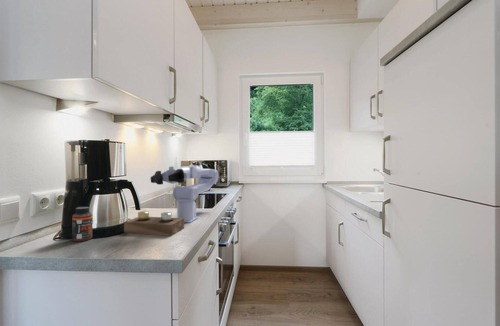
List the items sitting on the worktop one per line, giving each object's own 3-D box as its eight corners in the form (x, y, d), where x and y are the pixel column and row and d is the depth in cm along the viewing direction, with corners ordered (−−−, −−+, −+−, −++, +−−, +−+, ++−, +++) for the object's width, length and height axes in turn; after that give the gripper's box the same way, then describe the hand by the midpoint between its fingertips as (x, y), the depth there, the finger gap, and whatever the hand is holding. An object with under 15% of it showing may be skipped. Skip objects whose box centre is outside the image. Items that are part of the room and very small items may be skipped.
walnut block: (140, 225, 110) (139, 216, 109) (184, 228, 106) (183, 218, 106) (124, 232, 100) (124, 222, 100) (172, 235, 96) (172, 224, 96)
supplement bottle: (82, 242, 88) (82, 209, 88) (68, 241, 89) (67, 208, 89) (96, 237, 94) (96, 206, 94) (82, 236, 95) (82, 205, 95)
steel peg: (164, 220, 104) (164, 212, 104) (173, 221, 103) (173, 212, 103) (159, 223, 100) (159, 214, 100) (168, 223, 99) (168, 214, 99)
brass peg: (142, 219, 106) (141, 211, 106) (150, 219, 105) (150, 211, 105) (135, 221, 102) (135, 213, 102) (145, 222, 101) (145, 213, 101)
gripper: (162, 166, 113) (142, 170, 100) (192, 164, 110) (176, 167, 97) (164, 182, 114) (144, 188, 101) (194, 180, 110) (178, 185, 97)
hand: (160, 179), depth 99 cm, fingers open, 7 cm apart
